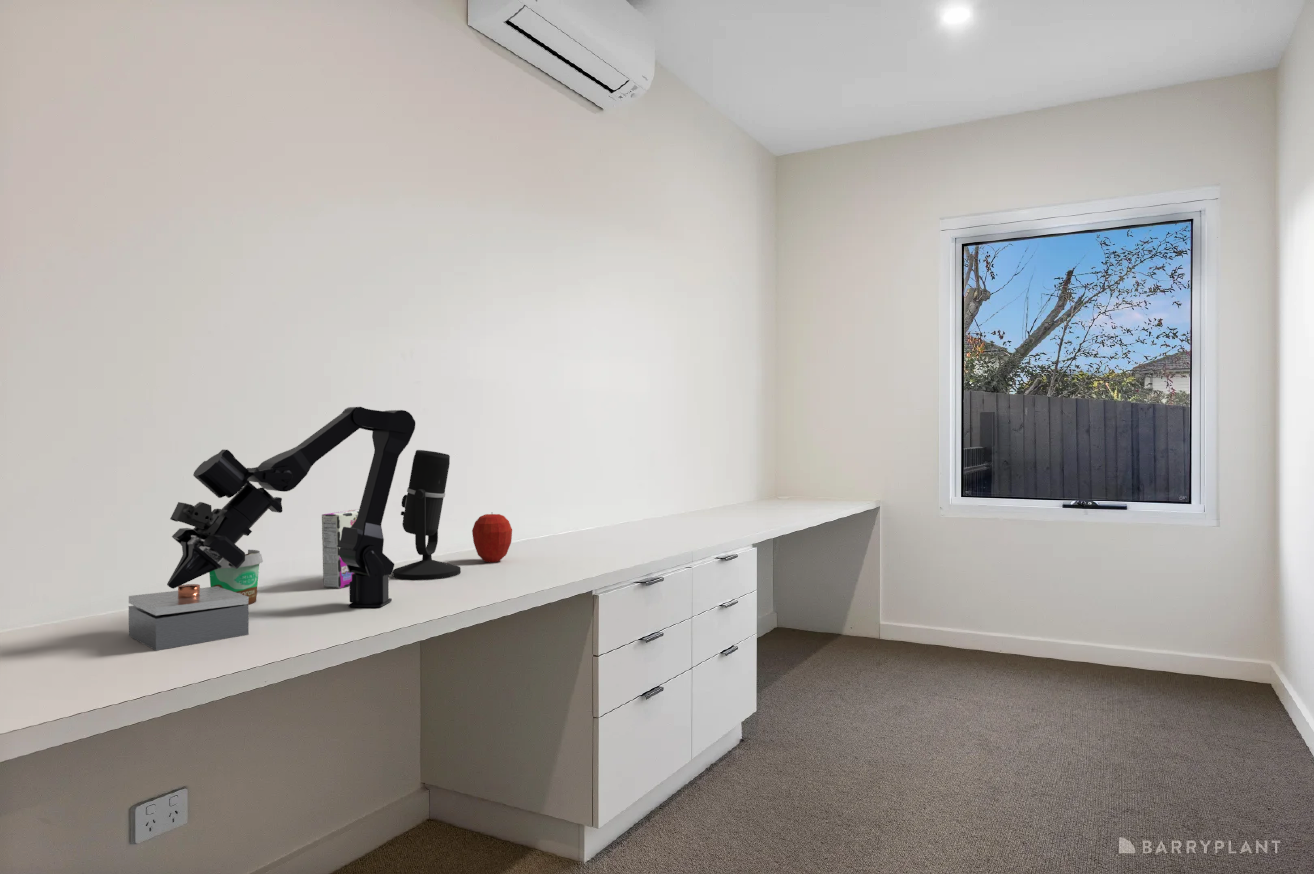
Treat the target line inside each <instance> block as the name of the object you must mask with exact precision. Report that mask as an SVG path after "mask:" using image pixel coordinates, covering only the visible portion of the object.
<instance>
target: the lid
mask: <svg viewBox="0 0 1314 874" xmlns="http://www.w3.org/2000/svg"><path fill="white" fill-rule="evenodd" d="M248 600H249V597H248V596H245V595H242V594H239V593H236V592H233V591H230V590H227V589H224V588H221V587H218V586H216V587H211V586H208V587H201V585H200V584H198V583H189V584H188V583H187V584H186V583H185V584H182V585H180V586H178V587H177V590H172V591H163V592H154V593H153V592H152V593H145V594H135V595H128V604H129V605H131V606H136V607H138V608H140V609H143V610H145V611H147V612H149V613H151V614H153V615H164V614H172V613H180V612H188V611H196V610H204V609H212V608H219V607H227V606H235V605H243V604H248Z"/></svg>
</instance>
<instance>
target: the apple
mask: <svg viewBox="0 0 1314 874" xmlns="http://www.w3.org/2000/svg"><path fill="white" fill-rule="evenodd" d="M471 533H472V540H473V545H474V547H475V550H476V553H477V555H478V557H480V559H481V560H483V561H484V562H486V563H492V564H493V563H497V562H500V561H501V560H502V559H503V558H504V557H506V556H507V554H508V551H509V549H510V546H511V544H512V538H513V537H512V536H513V528H512V526H511V523H510V520H508V518H507V517H506V516H505V515H503V514H500V513H490V514H489V513H486V514H483V515H481V516H479V517H478V518H477V519H476V520H475V522H474V524H473V526H472V530H471Z"/></svg>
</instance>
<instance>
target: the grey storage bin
mask: <svg viewBox="0 0 1314 874" xmlns="http://www.w3.org/2000/svg"><path fill="white" fill-rule="evenodd" d="M249 626H250V624H249V605H247V604H243V605H235V606H227V607H219V608H212V609H204V610H196V611H188V612H180V613H172V614H164V615H153V614H151V613H149V612H147V611H145V610H143V609H140V608H138V607H136V606H134V605H128V637H130V638H132V639H134V640H136V641H137V642H140V643H141V644H143V645H145V646H147V647H148V648H151V649H152V650H154V651H156V652H157V651H162V650H167V649H174V648H179V647H184V646H191V645H196V644H202V643H207V642H212V641H219V640H225V639H230V638H236V637H242V636H247V635H249V629H250V627H249Z"/></svg>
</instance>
